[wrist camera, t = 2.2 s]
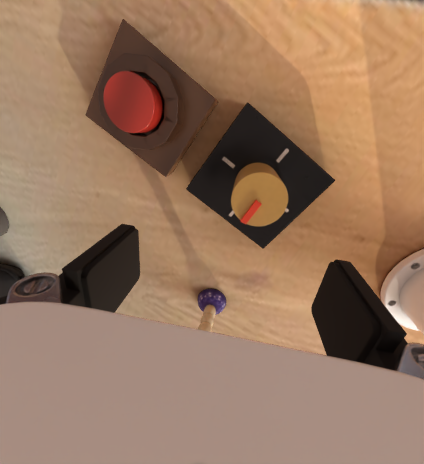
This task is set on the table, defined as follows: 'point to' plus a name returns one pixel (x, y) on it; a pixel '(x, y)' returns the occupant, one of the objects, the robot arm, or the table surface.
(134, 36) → the switch box
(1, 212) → the candle holder
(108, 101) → the power button
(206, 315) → the toy lamp
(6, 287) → the carrying case
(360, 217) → the table surface
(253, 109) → the dimmer
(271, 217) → the dimmer knob
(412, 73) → the table surface
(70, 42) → the table surface
